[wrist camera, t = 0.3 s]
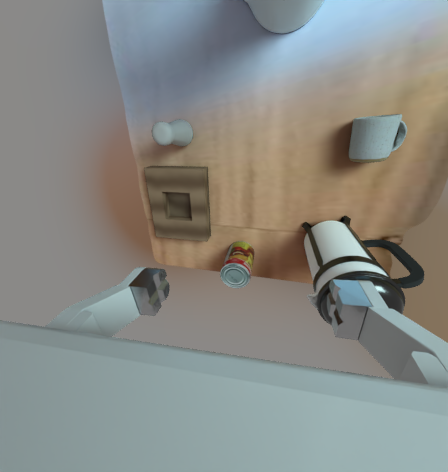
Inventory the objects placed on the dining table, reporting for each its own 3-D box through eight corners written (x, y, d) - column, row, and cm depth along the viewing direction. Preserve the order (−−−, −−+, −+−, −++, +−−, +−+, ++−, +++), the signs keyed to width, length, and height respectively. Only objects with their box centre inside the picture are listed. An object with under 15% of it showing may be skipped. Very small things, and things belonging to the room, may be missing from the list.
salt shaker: (177, 147, 54) (151, 152, 42) (171, 122, 51) (142, 120, 40) (198, 143, 52) (177, 147, 41) (193, 117, 50) (169, 114, 39)
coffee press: (328, 271, 61) (369, 379, 35) (285, 240, 59) (294, 328, 33) (382, 230, 52) (491, 330, 26) (334, 192, 51) (399, 258, 25)
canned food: (252, 264, 65) (248, 290, 55) (228, 260, 66) (219, 285, 56) (255, 243, 61) (252, 266, 51) (229, 239, 63) (220, 261, 52)
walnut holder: (151, 165, 57) (143, 168, 54) (207, 166, 54) (203, 169, 51) (162, 231, 67) (156, 236, 63) (210, 235, 63) (207, 241, 60)
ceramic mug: (342, 160, 47) (355, 165, 41) (348, 119, 44) (362, 117, 37) (396, 155, 45) (419, 159, 38) (407, 111, 41) (433, 108, 35)
